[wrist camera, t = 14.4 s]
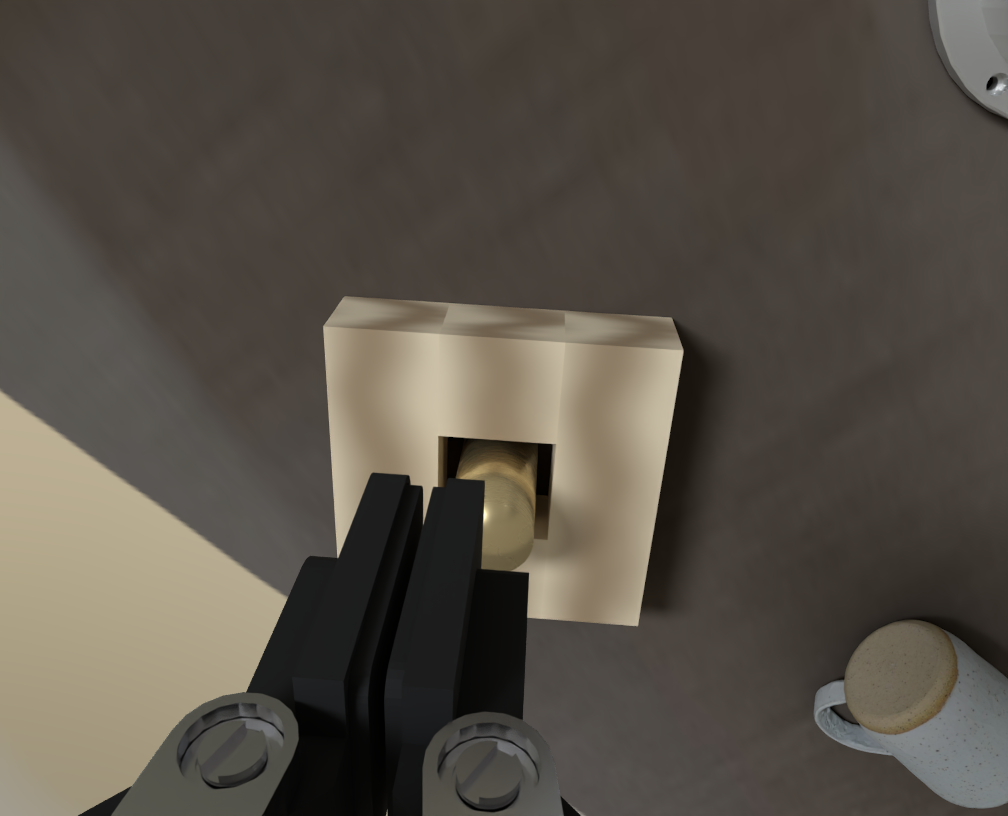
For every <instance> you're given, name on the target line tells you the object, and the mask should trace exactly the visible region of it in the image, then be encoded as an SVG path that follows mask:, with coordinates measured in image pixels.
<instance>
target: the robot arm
mask: <svg viewBox="0 0 1008 816" xmlns="http://www.w3.org/2000/svg"><path fill="white" fill-rule="evenodd" d="M928 7H929V22H930V26H931V30H932V34H933V38H934V42H935V46H936V50H937V52H938V54H939V56H940V58H941V60H942V62H943V64H944V66H945V68H946V70H947V72H948V74H949V75H950V76H951V78H952V79H953V80H954V81H955V82H956V84H957V85H958V86H959V87H960V88H961V89H962V91H963V92H964V93H965V94H966V95H967V96H968V97H969V98H971V99H972V100H974V101H975V102H976V103H978V104H979V105H981V106H982V107H983V108H985V109H986V110H988V111H990V112H992V113H995V114H997V115H999V116H1002V117H1004V118H1007V119H1008V0H928ZM991 77H992V78H993V83H992V85H991V86H990V87H989V88H988V89H986V84H987V82H988V80H989V79H990V78H991ZM484 498H485V480H471V479H457V478H448V480H447V484H446V487H433V489H432V492H431V496H430V500H429V504H428V508H427V512H426V516H425V520H424V524H423V487H422V486H420V485H411V481H410V476H409V475H402V474H388V473H374V472H373V473H371V475H370V477H369V480H368V482H367V485H366V487H365V490H364V492H363V495H362V498H361V500H360V503H359V505H358V508H357V511H356V513H355V516H354V518H353V521H352V524H351V526H350V529H349V531H348V534H347V536H346V539H345V542H344V544H343V547H342V549H341V552H340V555H339V557H338V558H330V557H317V556H310V557H308V558H307V559H306V560H305V562H304V564H303V566H302V568H301V570H300V572H299V574H298V577H297V579H296V581H295V583H294V586H293V588H292V590H291V592H290V595H289V597H288V599H287V601H286V604H285V606H284V608H283V610H282V613H281V615H280V617H279V619H278V622H277V624H276V627H275V628H274V631H273V633H272V635H271V638H270V640H269V642H268V644H267V646H266V649H265V651H264V653H263V656H262V658H261V660H260V662H259V665H258V667H257V669H256V671H255V674H254V676H253V678H252V680H251V682H250V685H249V687H248V689H247V692H246V693H245V692H242V693H236V694H230V695H225V696H221V697H219V698H216V699H214V700H211V701H208V702H206V703H204V704H202V705H201V706H199V707H198V708H196V709H194V710H193V711H192V712H190V713H189V714H187V715H186V716H185V717H184V718H183V719H182V720H181V721H180V722H179V723H178V724H177V725H176V726H175V728H173V730H172V731H171V732H170V734H169V735H168V737H167V738H166V739H165V741H164V742H163V744H162V745H161V746H160V748H159V749H158V750H157V752H156V753H155V755H154V756H153V757H152V759H151V760H150V762H149V763H148V765H147V766H146V767H145V769H144V770H143V771H142V773H141V774H140V776H139V777H138V778H137V780H136V781H135V783H134V784H133V785H132V786H131V787H129V788H127V789H125V790H124V791H122V792H120V793H118V794H116V795H114V796H113V797H111V798H109V799H107V800H105V801H104V802H102V803H100V804H98V805H96V806H95V807H93V808H91V809H89V810H87V811H85V812H84V813H82V814H80V815H78V816H386V812H387V810H388V816H581V815H580V814H579V813H578V812H577V811H576V810H575V809H573V808H572V807H571V806H570V805H569V804H568V803H567V802H566V801H565V800H564V799H563V798H562V797H561V796H560V791H559V785H558V780H557V774H556V768H555V762H554V759H553V756H552V753H551V751H550V748H549V745H548V744H547V742H546V741H545V740H544V739H543V737H542V736H541V735H540V734H539V732H538V731H537V730H536V729H534V728H533V727H531V726H530V725H528V724H527V723H526V722H524V721H523V700H524V678H525V656H526V634H527V612H528V590H529V573H528V572H515V571H502V570H489V569H481V565H482V543H483V520H484Z"/></svg>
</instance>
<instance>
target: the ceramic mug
mask: <svg viewBox="0 0 1008 816" xmlns="http://www.w3.org/2000/svg"><path fill="white" fill-rule="evenodd" d="M843 703H847V705H848V708H849V710H850V711H851V713H852V715H853V717H854V718H855V719H856V720H857V722H858V723H859V724H860V725H861V726H859V725H854V724H851V723H848V722H847V721H844V720H843V719H841V718H840V717H839V716H837V715H836V714H835V713H834V712H833V711H832V710H831V709H830V707H831V706H833V705H837V704H843ZM814 718H815V721H816V723H817V725H818V726H819V728H820V729H821V730H822V731H823V732H824V733H826V734H827V735H828V736H829V737H831V738H832V739H834V740H836V741H838V742H840V743H841V744H844V745H846V746H849V747H851V748H854V749H857V750H861V751H866V752H870V753H878V754H884V755H893V756H894V757H896V758H897V759H898V760H899V761H900V762H901V763H902V764H903V765H904V766H905V767H906V768H907V769H909V770H910V771H911V772H912V773H913V774H914V775H915V776H916V777H918V778H919V779H920V780H921V781H922V782H923V783H925V784H926V785H927V786H928V787H929V788H930V789H931V790H932V791H934V792H935V793H936V794H938V795H939V796H941V797H942V798H944V799H945V800H947V801H949V802H951V803H954V804H957V805H960V806H964V807H968V808H991V807H997V806H1000V805H1003V804H1005V803H1008V679H1007V678H1006V677H1005V676H1004V675H1003V674H1002V673H1000V672H999V671H998V670H997V669H996V668H994V667H993V666H992V665H991V664H989V663H988V662H987V661H985V660H984V659H983V658H981V657H980V656H979V655H978V654H976V653H975V652H974V651H973V650H972V649H971V648H970V647H968V646H967V645H966V644H965V643H964V642H963V641H961V640H960V639H959V638H957V637H956V636H954V635H953V634H951V633H949V632H947V631H945V630H943V629H942V628H940V627H938V626H936V625H934V624H931V623H929V622H925V621H921V620H909V619H908V620H902V621H897V622H892V623H890V624H887V625H885V626H883V627H881V628H879V629H877V630H876V631H874V632H873V633H871V634H870V635H869V636H867V637H866V638H865V639H864V640H863V641H862V642H861V643H860V645H859V646H858V647H857V649H856V650H855V651H854V653H853V654H852V656H851V658H850V660H849V663H848V665H847V668H846V672H845V679H844V680H838V681H833V682H830V683H829V684H827V685H825V686H823V687H821V688H820V689H819V690H818V691H817V693H816V695H815V704H814Z"/></svg>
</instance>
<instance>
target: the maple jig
mask: <svg viewBox="0 0 1008 816" xmlns="http://www.w3.org/2000/svg"><path fill="white" fill-rule="evenodd" d="M323 328H324V344H325V361H326V377H327V393H328V409H329V426H330V442H331V458H332V474H333V491H334V507H335V523H336V539H337V556H338V557H339V555H340V552H341V549H342V547H343V544H344V542H345V539H346V536H347V534H348V531H349V529H350V526H351V524H352V521H353V518H354V516H355V513H356V511H357V508H358V505H359V503H360V500H361V498H362V495H363V492H364V490H365V487H366V485H367V482H368V480H369V477H370V475H371V473H373V472H374V473H388V474H402V475H409V476H410V481H411V485H420V486H422V487H423V524H424V520H425V516H426V512H427V508H428V504H429V500H430V496H431V492H432V489H433V487H446V484H447V449H448V437H461V438H475V439H489V440H503V441H518V442H532V443H546V444H553V447H552V458H551V470H550V481H549V492H548V496H545V495H536V503H535V523H534V543H533V548H532V551H531V553H530V555H529V557H528V558H527V560H526V561H525V562H524V563H523V564H522V565H520V566H519V567H518V568H516V569H514V570H512V571H515V572H528V573H529V590H528V612H527V617H528V618H541V619H554V620H567V621H580V622H592V623H605V624H618V625H631V626H638V621H639V615H640V609H641V603H642V597H643V591H644V585H645V579H646V573H647V567H648V561H649V555H650V549H651V543H652V537H653V531H654V525H655V519H656V513H657V507H658V501H659V495H660V489H661V483H662V477H663V471H664V465H665V459H666V453H667V447H668V441H669V435H670V429H671V423H672V417H673V411H674V405H675V399H676V393H677V387H678V381H679V375H680V369H681V363H682V357H683V351H684V350H683V347H682V345H681V342H680V339H679V336H678V333H677V331H676V328H675V325H674V322H673V320H672V318H667V317H652V316H637V315H622V314H607V313H591V312H576V311H561V310H546V309H531V308H516V307H500V306H485V305H470V304H455V303H440V302H425V301H410V300H394V299H379V298H364V297H349V296H344V298H343V299H342V301H341V302H340V303H339V305H338V306H337V308H336V309H335V311H334V312H333V313H332V315H331V316H330V318H329V319H328V321H327V322H326V323H325V325H324V326H323Z"/></svg>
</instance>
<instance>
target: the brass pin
mask: <svg viewBox="0 0 1008 816" xmlns="http://www.w3.org/2000/svg"><path fill="white" fill-rule="evenodd" d="M537 462H538V443H532V442H518V441H503V440H489V439H475V438H465V439H464V443H463V447H462V452H461V457H460V461H459V466H458V471H457V475H456V478H457V479H471V480H485V498H484V520H483V543H482V565H481V569H489V570H502V571H512V570H514V569H516V568H518V567H519V566H520V565H522V564H523V563H524V562H525V561H526V560H527V558H528V557H529V555H530V553H531V551H532V548H533V543H534V523H535V503H536V482H537Z"/></svg>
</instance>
